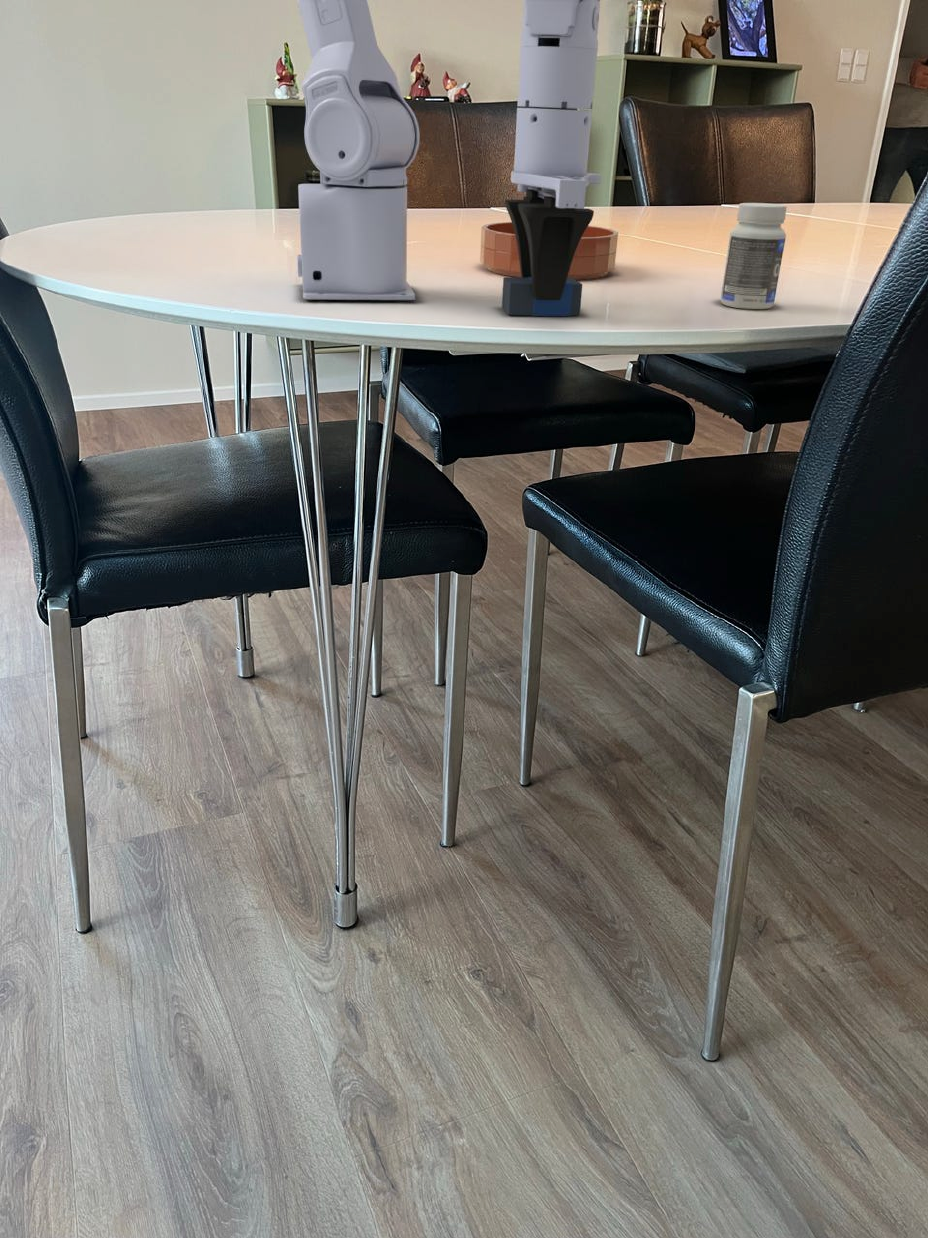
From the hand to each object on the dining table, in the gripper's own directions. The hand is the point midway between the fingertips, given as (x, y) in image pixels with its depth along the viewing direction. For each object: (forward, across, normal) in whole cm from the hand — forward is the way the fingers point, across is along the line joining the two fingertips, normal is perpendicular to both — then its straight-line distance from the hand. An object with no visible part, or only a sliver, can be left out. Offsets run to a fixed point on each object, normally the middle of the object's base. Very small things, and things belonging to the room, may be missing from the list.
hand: (541, 294), depth 79 cm
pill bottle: (+2, +4, -20) cm, 20 cm away
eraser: (+1, 0, 0) cm, 1 cm away
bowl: (+1, +23, -6) cm, 24 cm away
